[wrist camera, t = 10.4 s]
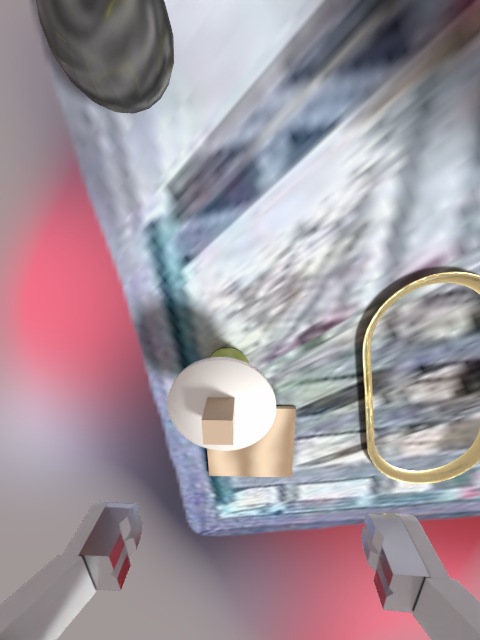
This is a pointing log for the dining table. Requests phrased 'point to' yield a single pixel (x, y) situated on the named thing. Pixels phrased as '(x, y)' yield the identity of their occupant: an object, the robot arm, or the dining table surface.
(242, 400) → the lid
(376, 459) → the oval gold ring
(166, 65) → the decorative stone
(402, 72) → the dining table surface
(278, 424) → the mat
